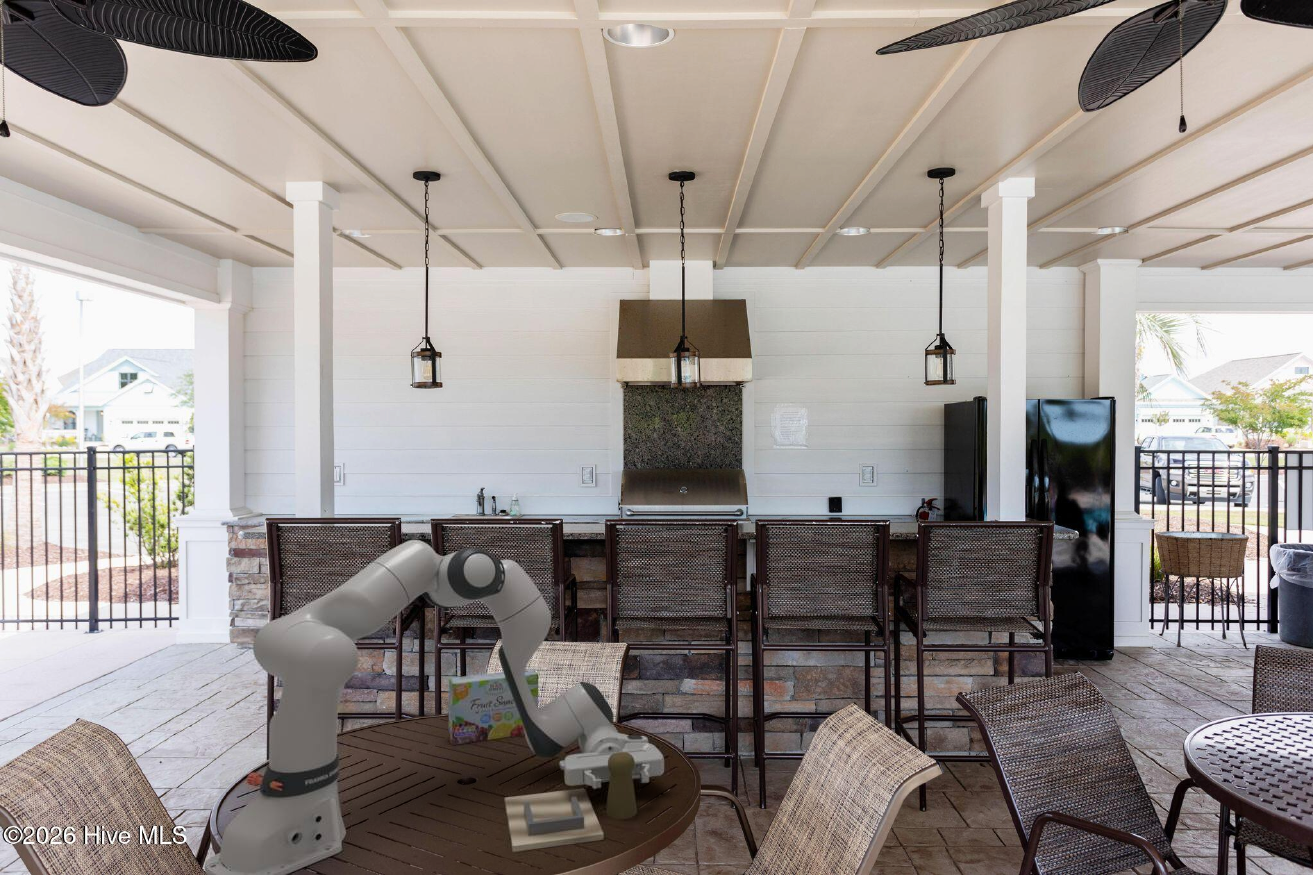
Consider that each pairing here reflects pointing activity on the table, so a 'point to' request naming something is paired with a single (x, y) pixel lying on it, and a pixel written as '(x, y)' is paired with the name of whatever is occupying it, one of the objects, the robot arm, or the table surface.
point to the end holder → (554, 821)
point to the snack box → (485, 707)
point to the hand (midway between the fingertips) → (621, 781)
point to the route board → (550, 808)
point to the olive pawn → (621, 787)
